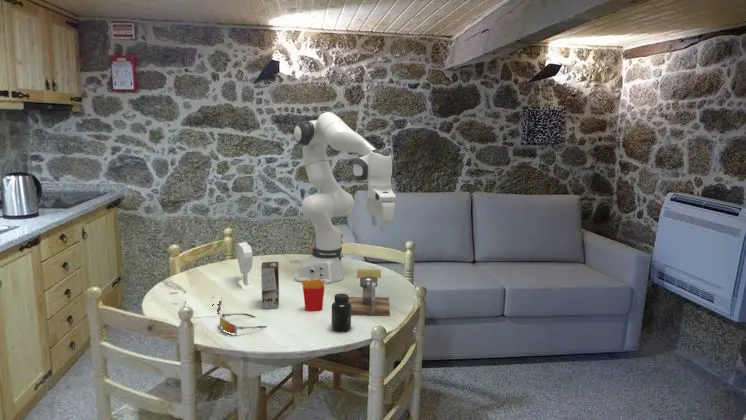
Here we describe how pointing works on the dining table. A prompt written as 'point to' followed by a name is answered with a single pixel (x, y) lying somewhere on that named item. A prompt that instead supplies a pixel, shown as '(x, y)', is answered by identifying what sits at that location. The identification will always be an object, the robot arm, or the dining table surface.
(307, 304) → the french fries
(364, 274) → the coupling
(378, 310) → the post stand
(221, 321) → the sunglasses
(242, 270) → the heart sculpture
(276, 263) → the coffee box
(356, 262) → the dining table surface
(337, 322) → the supplement bottle
